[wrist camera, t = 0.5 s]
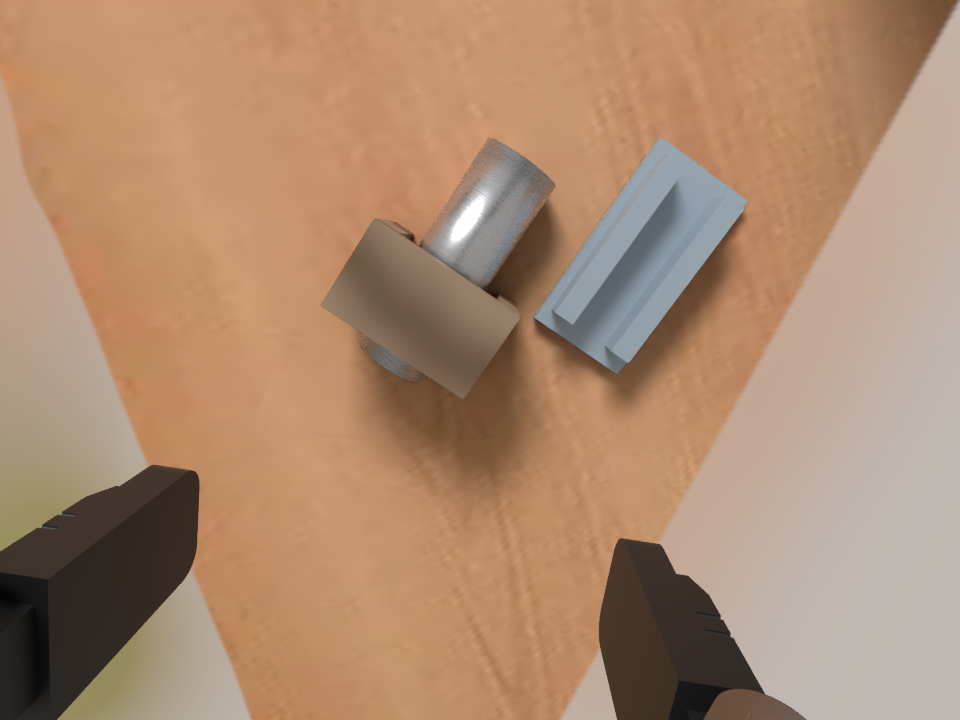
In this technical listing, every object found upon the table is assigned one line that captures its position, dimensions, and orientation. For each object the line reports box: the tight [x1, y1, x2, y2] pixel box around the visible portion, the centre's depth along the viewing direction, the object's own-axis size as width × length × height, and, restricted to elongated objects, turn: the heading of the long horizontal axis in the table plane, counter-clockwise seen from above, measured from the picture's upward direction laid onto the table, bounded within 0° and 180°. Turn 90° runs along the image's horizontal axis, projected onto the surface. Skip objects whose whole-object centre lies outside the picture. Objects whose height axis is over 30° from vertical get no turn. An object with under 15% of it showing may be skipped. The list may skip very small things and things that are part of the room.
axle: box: [358, 138, 556, 383], centre depth 32 cm, size 13×4×4 cm, turn 146°
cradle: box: [534, 137, 747, 374], centre depth 32 cm, size 12×6×3 cm, turn 146°
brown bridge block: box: [320, 218, 520, 399], centre depth 31 cm, size 5×8×6 cm, turn 56°
